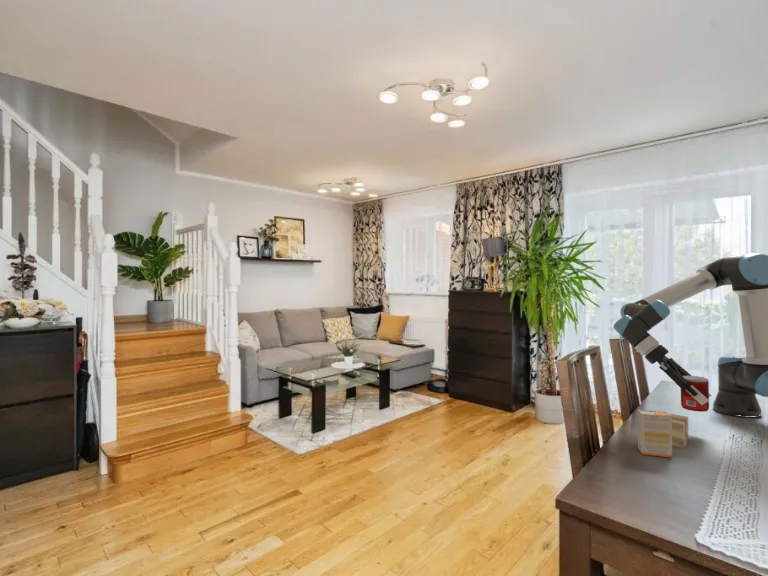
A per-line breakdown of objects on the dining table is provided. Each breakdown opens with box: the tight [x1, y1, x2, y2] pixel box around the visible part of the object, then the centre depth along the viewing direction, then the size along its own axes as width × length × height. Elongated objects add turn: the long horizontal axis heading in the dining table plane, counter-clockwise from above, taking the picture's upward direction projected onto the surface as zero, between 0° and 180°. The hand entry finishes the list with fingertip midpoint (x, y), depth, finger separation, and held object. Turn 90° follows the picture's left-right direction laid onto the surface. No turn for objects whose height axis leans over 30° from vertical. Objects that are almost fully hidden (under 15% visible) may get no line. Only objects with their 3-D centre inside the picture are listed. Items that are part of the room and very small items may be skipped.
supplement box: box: [637, 409, 673, 459], centre depth 128 cm, size 8×5×13 cm, turn 71°
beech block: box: [669, 413, 689, 449], centre depth 139 cm, size 10×10×8 cm
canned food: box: [680, 375, 710, 413], centre depth 145 cm, size 8×8×11 cm
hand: (706, 400), depth 143 cm, fingers closed on canned food, 8 cm apart
